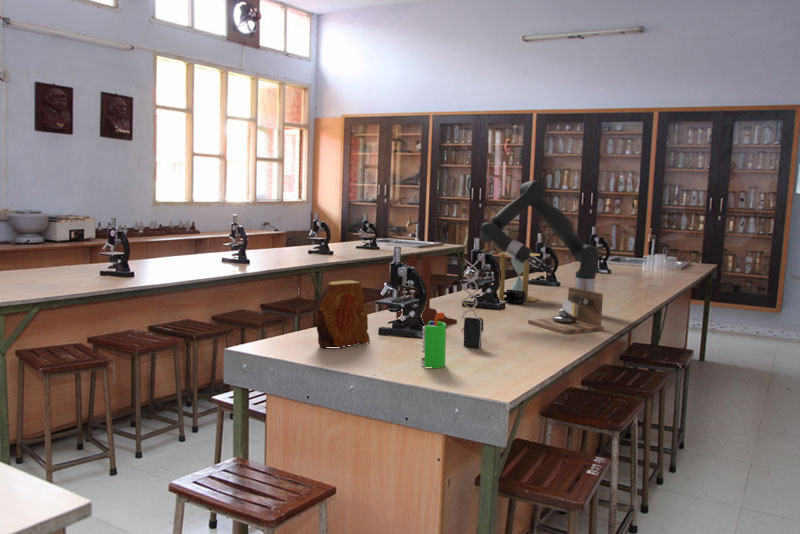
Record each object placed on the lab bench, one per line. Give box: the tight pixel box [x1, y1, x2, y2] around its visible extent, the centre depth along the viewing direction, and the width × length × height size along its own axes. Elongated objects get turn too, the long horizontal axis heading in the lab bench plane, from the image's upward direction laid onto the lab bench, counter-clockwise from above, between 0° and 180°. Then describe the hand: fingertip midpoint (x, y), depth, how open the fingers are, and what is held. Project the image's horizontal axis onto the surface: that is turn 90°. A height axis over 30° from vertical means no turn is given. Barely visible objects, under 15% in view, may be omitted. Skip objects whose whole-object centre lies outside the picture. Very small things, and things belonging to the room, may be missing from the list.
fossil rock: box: [314, 279, 371, 348], centre depth 260 cm, size 24×8×24 cm, turn 128°
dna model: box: [461, 259, 479, 332], centre depth 289 cm, size 7×6×30 cm
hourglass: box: [498, 251, 541, 303], centre depth 381 cm, size 24×22×25 cm
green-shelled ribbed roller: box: [420, 311, 447, 369], centre depth 235 cm, size 9×8×18 cm
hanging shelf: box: [395, 253, 458, 326], centre depth 312 cm, size 24×13×30 cm, turn 47°
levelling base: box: [527, 287, 605, 335], centre depth 307 cm, size 22×24×16 cm
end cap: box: [503, 289, 526, 306], centre depth 367 cm, size 10×7×7 cm
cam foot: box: [552, 298, 578, 323], centre depth 307 cm, size 20×10×10 cm, turn 5°
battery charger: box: [463, 315, 484, 349], centre depth 264 cm, size 7×4×11 cm, turn 55°
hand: (551, 272), depth 310 cm, fingers closed
